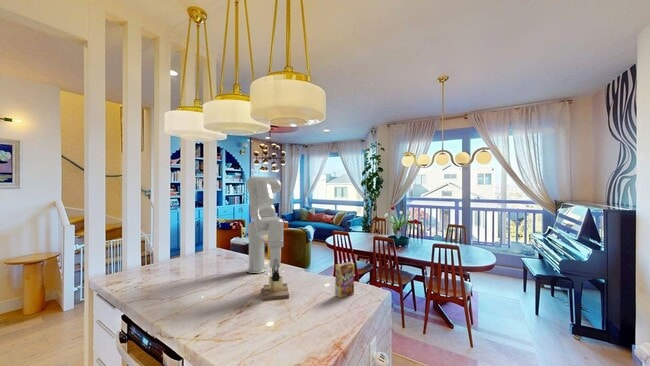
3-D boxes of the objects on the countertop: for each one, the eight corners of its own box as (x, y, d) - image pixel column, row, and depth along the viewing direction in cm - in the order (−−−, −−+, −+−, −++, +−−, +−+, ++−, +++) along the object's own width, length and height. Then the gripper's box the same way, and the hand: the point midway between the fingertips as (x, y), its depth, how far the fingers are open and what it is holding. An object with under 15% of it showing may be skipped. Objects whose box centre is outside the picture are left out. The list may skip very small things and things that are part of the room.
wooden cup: (268, 287, 132) (269, 275, 132) (282, 286, 134) (282, 275, 134) (268, 292, 126) (269, 280, 126) (282, 291, 127) (282, 279, 127)
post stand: (263, 287, 136) (263, 272, 136) (286, 286, 139) (286, 270, 139) (263, 300, 120) (263, 283, 121) (289, 298, 123) (289, 281, 123)
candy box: (340, 298, 123) (340, 266, 123) (334, 295, 126) (334, 263, 127) (354, 294, 127) (354, 263, 128) (349, 291, 131) (349, 261, 131)
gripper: (268, 240, 138) (267, 272, 138) (268, 247, 121) (267, 284, 121) (282, 239, 140) (282, 271, 139) (284, 247, 123) (284, 283, 123)
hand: (275, 277), depth 130 cm, fingers open, 9 cm apart
